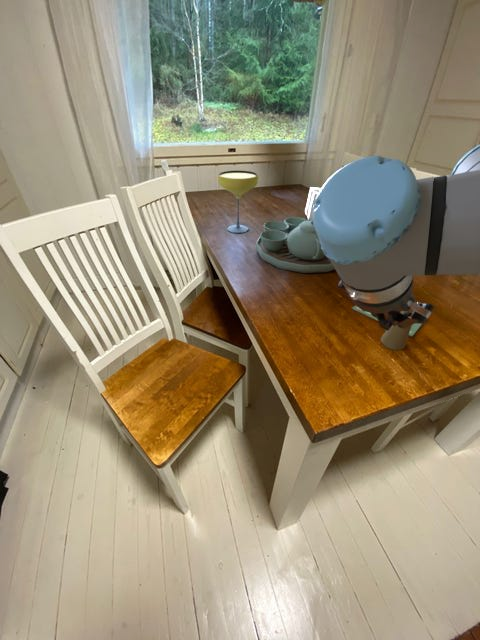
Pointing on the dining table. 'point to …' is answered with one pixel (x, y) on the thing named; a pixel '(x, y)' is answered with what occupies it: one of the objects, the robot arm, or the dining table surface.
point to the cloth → (413, 327)
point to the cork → (396, 337)
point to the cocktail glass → (238, 190)
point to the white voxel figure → (311, 202)
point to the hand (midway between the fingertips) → (388, 323)
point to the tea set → (293, 246)
